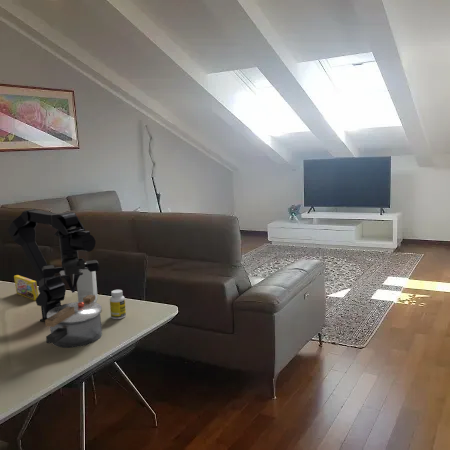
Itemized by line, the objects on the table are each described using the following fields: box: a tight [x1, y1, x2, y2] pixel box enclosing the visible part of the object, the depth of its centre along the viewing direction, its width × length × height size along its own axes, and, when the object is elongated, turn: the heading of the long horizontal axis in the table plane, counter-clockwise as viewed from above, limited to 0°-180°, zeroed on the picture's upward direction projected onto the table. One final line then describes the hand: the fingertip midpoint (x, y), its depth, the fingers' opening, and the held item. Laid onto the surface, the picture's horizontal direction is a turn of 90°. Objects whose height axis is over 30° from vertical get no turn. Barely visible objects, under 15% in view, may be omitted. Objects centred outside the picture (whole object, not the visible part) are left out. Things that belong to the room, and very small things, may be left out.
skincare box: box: [76, 262, 98, 303], centre depth 187 cm, size 8×7×16 cm
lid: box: [44, 295, 103, 327], centre depth 152 cm, size 24×17×3 cm
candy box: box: [13, 274, 39, 302], centre depth 198 cm, size 16×2×8 cm, turn 50°
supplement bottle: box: [109, 289, 127, 320], centre depth 171 cm, size 5×5×10 cm
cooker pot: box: [45, 313, 103, 349], centre depth 153 cm, size 16×26×8 cm, turn 168°
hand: (73, 292), depth 164 cm, fingers closed
